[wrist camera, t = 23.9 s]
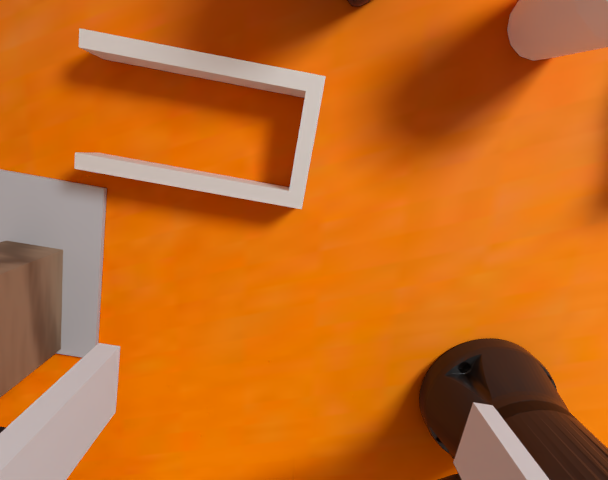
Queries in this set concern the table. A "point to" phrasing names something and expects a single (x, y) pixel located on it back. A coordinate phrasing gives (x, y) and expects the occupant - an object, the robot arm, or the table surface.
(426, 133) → the table surface
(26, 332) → the walnut block
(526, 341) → the table surface
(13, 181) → the mat
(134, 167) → the bay
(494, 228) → the table surface
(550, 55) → the foam cup
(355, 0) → the wooden figurine
